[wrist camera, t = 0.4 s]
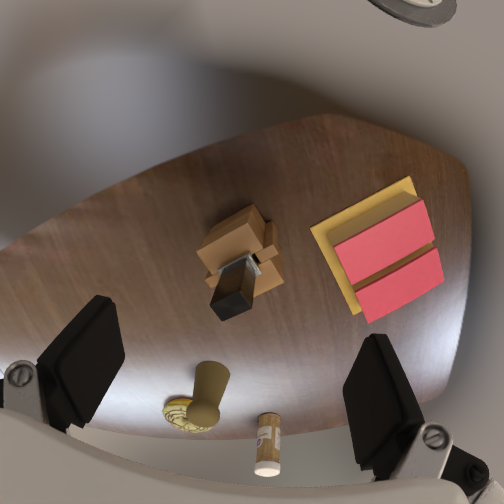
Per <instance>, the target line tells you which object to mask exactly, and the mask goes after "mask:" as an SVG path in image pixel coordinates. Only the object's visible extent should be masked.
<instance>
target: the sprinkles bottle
mask: <svg viewBox="0 0 504 504" xmlns="http://www.w3.org/2000/svg"><path fill="white" fill-rule="evenodd" d="M280 420H281V419H280V417H279V416H278V415H276V414H272V413H267V414H263V415H261V416H260V417H259V429H258V438H257V458H256V464H255V470H254V471H255V473H256V474H257V475H259V476H266V477H269V476H275V475H278V474H279V473H280V462H279V455H280V454H279V453H280Z"/></svg>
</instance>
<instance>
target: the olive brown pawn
mask: <svg viewBox="0 0 504 504" xmlns="http://www.w3.org/2000/svg"><path fill="white" fill-rule="evenodd" d="M229 378H230V373H229V370H228V369H227V368H226V367H225V366H224V365H222V364H220V363H218V362H213V361H205V362H201V363H200V364H199V365H198V366H197V368H196V374H195V382H194V391H193V399H192V402H191V403H190V404H189V405H188V407H187V409H186V417H187V419H188V421H189V422H191V423H192V424H194V425H196V426H198V427H203V428H209V427H213V426H214V425H216V424H217V423H218V421H219V418H220V411H219V409H218V407H219V404H220V402H221V399H222V396H223V394H224V391H225V388H226V386H227V383H228V380H229Z"/></svg>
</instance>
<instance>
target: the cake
mask: <svg viewBox="0 0 504 504" xmlns="http://www.w3.org/2000/svg"><path fill="white" fill-rule="evenodd" d="M310 230H311V232H312V234H313V236H314V237H315V239H316V241H317V243H318V245H319V247H320V249H321V251H322V253H323V255H324V257H325V259H326V261H327V263H328V265H329V267H330V269H331V271H332V273H333V275H334V277H335V279H336V281H337V283H338V285H339V287H340V289H341V291H342V293H343V295H344V297H345V299H346V301H347V303H348V306H349V308H350V310H351V312H352V314H353V315H354V314H356V313H358V312H360V311H363V313H364V316H365V318H366V320H367V322H368V323H371V322H373V321H375V320H376V319H378V318H380V317H382V316H384V315H386V314H388V313H390V312H392V311H394V310H396V309H397V308H399V307H401V306H403V305H405V304H406V303H408V302H410V301H412V300H414V299H415V298H417V297H419V296H420V295H422V294H424V293H426V292H427V291H429V290H431V289H432V288H434V287H436V286H437V285H439V284H440V283H442V282H444V277H443V272H442V267H441V263H440V258H439V254H438V250H437V247H435V246H434V245H433V244H432V243H431V241H433V240H434V239H435V238H434V234H433V231H432V227H431V224H430V220H429V217H428V214H427V211H426V207H425V204H424V201H423V199H421V198H419V197H417V195H416V192H415V189H414V186H413V184H412V181H411V178H410V176H406V177H405V178H403V179H401V180H399V181H397V182H395V183H393V184H391V185H389V186H388V187H386V188H384V189H382V190H380V191H378V192H376V193H374V194H373V195H371V196H369V197H367V198H365V199H363V200H361V201H359V202H357V203H356V204H354V205H352V206H350V207H348V208H346V209H344V210H342V211H340V212H338V213H337V214H335V215H333V216H331V217H329V218H327V219H325V220H323V221H321V222H319V223H318V224H316V225H314V226H312V227H310Z"/></svg>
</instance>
